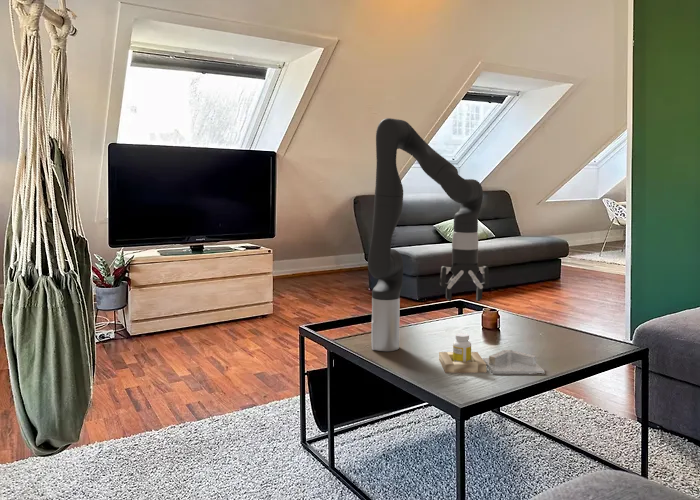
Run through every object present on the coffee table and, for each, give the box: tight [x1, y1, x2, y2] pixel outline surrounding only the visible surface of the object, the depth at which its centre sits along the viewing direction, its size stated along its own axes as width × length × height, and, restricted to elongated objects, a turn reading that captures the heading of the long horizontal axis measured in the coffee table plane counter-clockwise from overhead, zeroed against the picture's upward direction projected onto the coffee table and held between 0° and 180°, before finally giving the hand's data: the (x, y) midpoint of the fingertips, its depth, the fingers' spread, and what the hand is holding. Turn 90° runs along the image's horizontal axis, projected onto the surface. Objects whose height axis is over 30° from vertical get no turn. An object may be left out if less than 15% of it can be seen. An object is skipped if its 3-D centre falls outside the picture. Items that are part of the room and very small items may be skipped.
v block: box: [482, 349, 545, 375], centre depth 170 cm, size 15×12×4 cm
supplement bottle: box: [452, 332, 472, 362], centre depth 171 cm, size 5×5×10 cm
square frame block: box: [438, 351, 487, 374], centre depth 172 cm, size 12×12×2 cm
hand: (463, 300), depth 170 cm, fingers open, 8 cm apart
